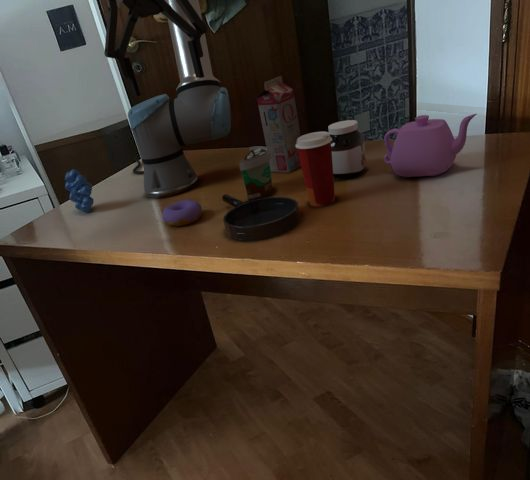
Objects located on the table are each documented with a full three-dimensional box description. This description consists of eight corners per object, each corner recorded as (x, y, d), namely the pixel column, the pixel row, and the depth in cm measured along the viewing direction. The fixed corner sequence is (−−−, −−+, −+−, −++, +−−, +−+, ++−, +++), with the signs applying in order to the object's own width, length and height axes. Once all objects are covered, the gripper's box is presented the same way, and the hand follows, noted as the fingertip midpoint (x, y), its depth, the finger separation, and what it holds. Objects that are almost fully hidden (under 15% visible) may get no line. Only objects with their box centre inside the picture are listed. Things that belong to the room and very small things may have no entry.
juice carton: (304, 163, 143) (291, 74, 131) (289, 172, 140) (273, 81, 128) (286, 163, 148) (271, 76, 135) (271, 171, 144) (254, 83, 132)
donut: (156, 222, 126) (153, 202, 124) (190, 216, 131) (188, 196, 129) (175, 230, 119) (173, 209, 117) (210, 223, 124) (209, 202, 122)
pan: (215, 228, 117) (211, 215, 115) (277, 204, 121) (275, 191, 119) (246, 248, 104) (243, 233, 102) (314, 220, 109) (312, 206, 107)
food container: (272, 200, 124) (264, 157, 118) (247, 204, 125) (238, 161, 120) (281, 183, 134) (274, 142, 128) (258, 186, 135) (249, 146, 130)
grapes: (111, 208, 146) (94, 164, 139) (90, 217, 142) (72, 173, 136) (90, 204, 153) (73, 162, 147) (69, 213, 150) (52, 171, 143)
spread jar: (354, 181, 123) (349, 129, 117) (311, 182, 129) (304, 132, 123) (373, 164, 131) (369, 114, 125) (332, 165, 137) (326, 118, 131)
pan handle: (220, 203, 127) (218, 195, 126) (230, 199, 128) (228, 191, 127) (240, 214, 118) (238, 205, 117) (251, 210, 119) (250, 201, 117)
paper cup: (345, 195, 117) (337, 129, 109) (330, 208, 112) (320, 141, 104) (314, 195, 121) (304, 131, 114) (298, 208, 116) (287, 143, 109)
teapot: (377, 183, 119) (372, 129, 113) (392, 163, 129) (389, 112, 122) (471, 178, 110) (472, 119, 104) (480, 158, 119) (482, 102, 113)
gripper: (67, -34, 86) (113, 104, 98) (204, -63, 93) (232, 70, 105) (60, -28, 92) (104, 102, 104) (190, -55, 99) (218, 69, 111)
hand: (169, 86), depth 105 cm, fingers open, 13 cm apart
